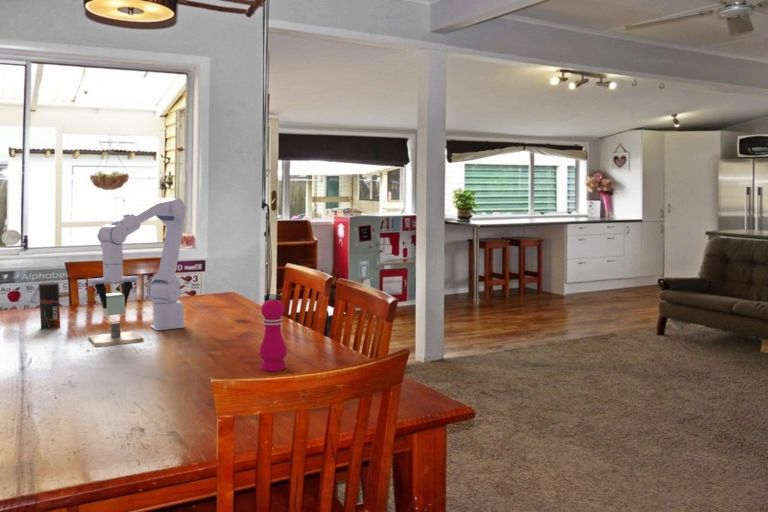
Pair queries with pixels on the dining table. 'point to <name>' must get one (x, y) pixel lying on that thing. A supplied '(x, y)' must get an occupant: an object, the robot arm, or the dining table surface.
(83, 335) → the dining table surface
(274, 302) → the pepper mill
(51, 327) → the deodorant
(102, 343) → the board
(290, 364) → the dining table surface
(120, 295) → the mint green grooved cube
